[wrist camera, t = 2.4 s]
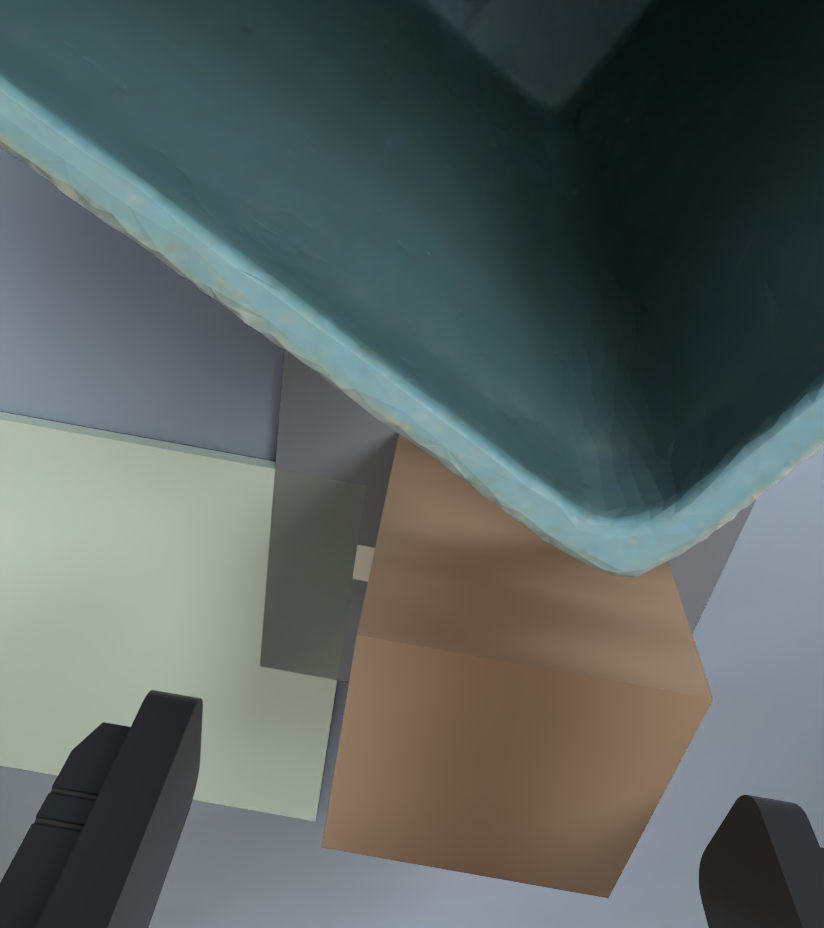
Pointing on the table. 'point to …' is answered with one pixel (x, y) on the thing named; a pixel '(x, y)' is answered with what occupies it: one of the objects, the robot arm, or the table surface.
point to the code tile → (370, 463)
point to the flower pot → (481, 224)
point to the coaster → (162, 605)
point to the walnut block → (506, 696)
